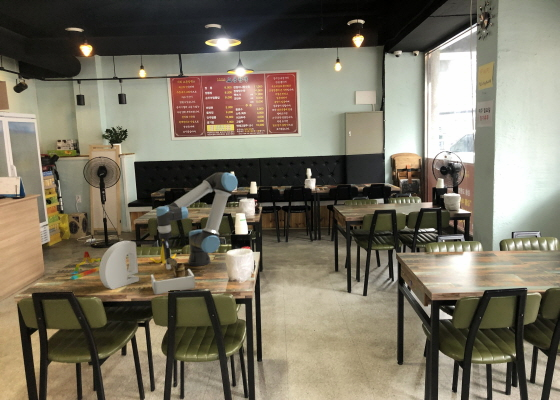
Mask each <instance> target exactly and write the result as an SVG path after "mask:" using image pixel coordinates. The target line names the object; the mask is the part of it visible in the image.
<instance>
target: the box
mask: <svg viewBox="0 0 560 400" xmlns="http://www.w3.org/2000/svg"><path fill="white" fill-rule="evenodd" d="M150 278H151V279H150V280H151V287H152V288H151V289H152V291H153V294H154V295H161V294H166V293H167V294H169V292H168V291H170V290H180V291H185V290H191V289H196V278H195V275H194V273H193V271H191V269H190V268H188V269H187V276H186V277H181V278H175V279H172V278H170V279H163V280H156V278H155V275H154V274H151V275H150Z"/></svg>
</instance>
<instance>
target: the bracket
mask: <svg viewBox="0 0 560 400" xmlns="http://www.w3.org/2000/svg"><path fill="white" fill-rule="evenodd" d="M127 257H128V265H129V266H128V265H127ZM99 262H100V261H99ZM138 265H139V264H138V253H137V244H136V241H131V240H122V241H119V242H115V243H114V244H113V245H111V246H109V247H108V249H107V250H106V251H105V252H104V254H103V255H102V257H101V262H100V263H99V266H100V267H99V270H98V273H99V279H100V281H101V282H102V285H103V286H104V287H105V288H108V289H110V290H114V289H117V288H120V287H121V288H122V287H123V286H124V287H125V286H128V285H130V284H133V283H137V282H139V281H140V278H139V276H138V275H135V274H139V266H138ZM127 267H128V268H127Z"/></svg>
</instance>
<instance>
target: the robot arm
mask: <svg viewBox="0 0 560 400" xmlns="http://www.w3.org/2000/svg"><path fill="white" fill-rule="evenodd" d="M238 185H239V184H238V178H237V176H235V175H234V174H233V173H230V172H219V171H218V172H215V173H213V174H212V175H209V176H208V177H207V178H205V179H204V180H203V181H202V183H200V184H199V185H197V186H196V187H194V188H193V189H191V190H190V191H189V192H186V193H185V194H184V195H182V196H181V197H180V198H177V199H176V200H175V201H173V202H172V203H170V204H167V205H164V206H158V207H156V210H155V211H156V215H155V216H156V221H157V222H156V223H157V228H156V229H157V230H158V239H159V240H161V241H162V239H163V241H162V245H163V248H164V256H165V261H166V264H165V268H166V270H171V269H172V265H171V264H169V263H168V261H167V258H169V257H170V258H171V257H172V256H171V243H170V240H169V239H171V238H172V226H171V222H173V221H179V220H184V219H187V218H189V210H188V207H189V206H191V205H192V204H193V203H195V202H197V201H199V200H200V199H201V198H203V197H204V196H206V195H207V194H209V193H212V192H215V194H214V198H213V201H212V206H211V208H210V211H209V214H208V218H207V221H206V225H205V227H204V228H202V229H195V230H190V231H189V232H188V239H189V241H188V242H189V256H188V260H187V263H188V265H189V266H193V267H201V266H202V267H203V266H205V265H206V266H207V265H208V264H210V263H211V262H212V261H211V260H212V259H211V257H210V255H209V254H212V253H214V252H216V251H217V250H219V247H220V245H221V243H220V242H221V241H220V238H219V236H220V233H219V230H220V226H221V222H222V219H223V215H224V212H225V209H226V205H227V204H228V203H227V201H228V199H229V197H230V196H232V193H233V191H235V190H236V189H237V187H238Z"/></svg>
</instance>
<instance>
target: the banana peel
mask: <svg viewBox="0 0 560 400" xmlns="http://www.w3.org/2000/svg"><path fill="white" fill-rule="evenodd" d="M161 241H163V239H161ZM176 256H177V253H174V254H173V255H172V256H170V257H171V258H173V259H175V258H176ZM149 259H150V261H152V262H154V263H156V264H160V263H162V264H163V265H166V261H165V256H164V248H163V244H162V245H161V248H160V259H154V258H152V257H149Z"/></svg>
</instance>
